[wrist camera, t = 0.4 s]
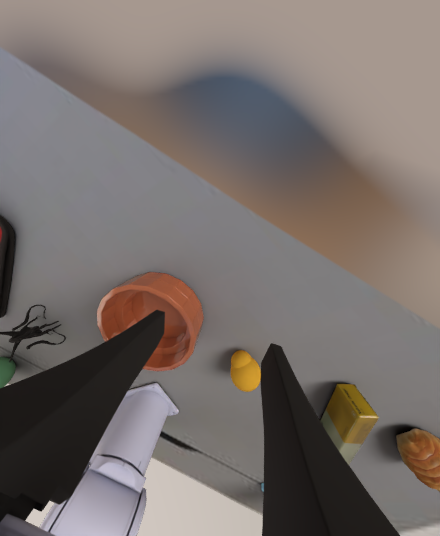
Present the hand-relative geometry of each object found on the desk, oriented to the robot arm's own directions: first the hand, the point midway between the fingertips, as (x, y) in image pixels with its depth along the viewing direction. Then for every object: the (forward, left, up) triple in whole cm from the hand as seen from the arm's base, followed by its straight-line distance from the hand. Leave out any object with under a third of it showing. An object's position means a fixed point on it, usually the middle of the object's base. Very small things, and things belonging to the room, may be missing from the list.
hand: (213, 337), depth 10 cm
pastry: (+15, -38, -9) cm, 41 cm away
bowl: (-11, -1, -10) cm, 15 cm away
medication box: (+6, -27, -11) cm, 29 cm away
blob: (-3, -13, -10) cm, 17 cm away
